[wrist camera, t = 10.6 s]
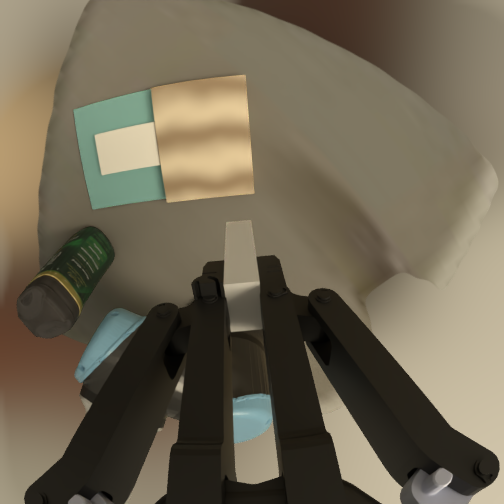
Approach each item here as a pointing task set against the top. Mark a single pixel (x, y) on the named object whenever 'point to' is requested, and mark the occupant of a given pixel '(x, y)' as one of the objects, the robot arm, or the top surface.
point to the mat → (87, 126)
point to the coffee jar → (65, 284)
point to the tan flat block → (204, 138)
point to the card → (128, 148)
